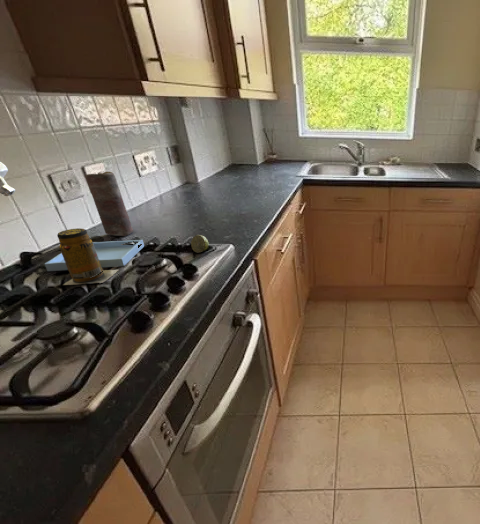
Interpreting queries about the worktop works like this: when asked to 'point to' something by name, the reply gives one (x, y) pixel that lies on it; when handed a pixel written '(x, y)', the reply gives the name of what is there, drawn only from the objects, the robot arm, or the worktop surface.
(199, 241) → the lime
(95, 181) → the candle
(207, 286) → the worktop surface
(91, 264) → the condiment
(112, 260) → the blue tray
